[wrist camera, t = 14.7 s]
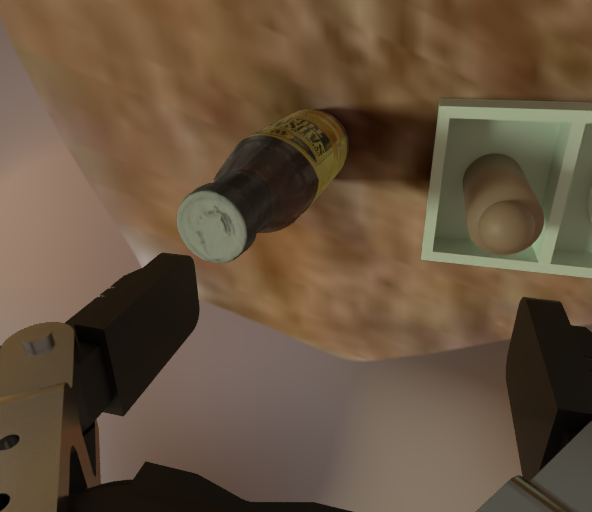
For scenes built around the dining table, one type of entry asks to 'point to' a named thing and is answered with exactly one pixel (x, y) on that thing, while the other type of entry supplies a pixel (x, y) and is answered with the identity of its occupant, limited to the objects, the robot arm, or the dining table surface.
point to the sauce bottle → (263, 185)
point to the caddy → (511, 186)
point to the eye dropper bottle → (590, 202)
